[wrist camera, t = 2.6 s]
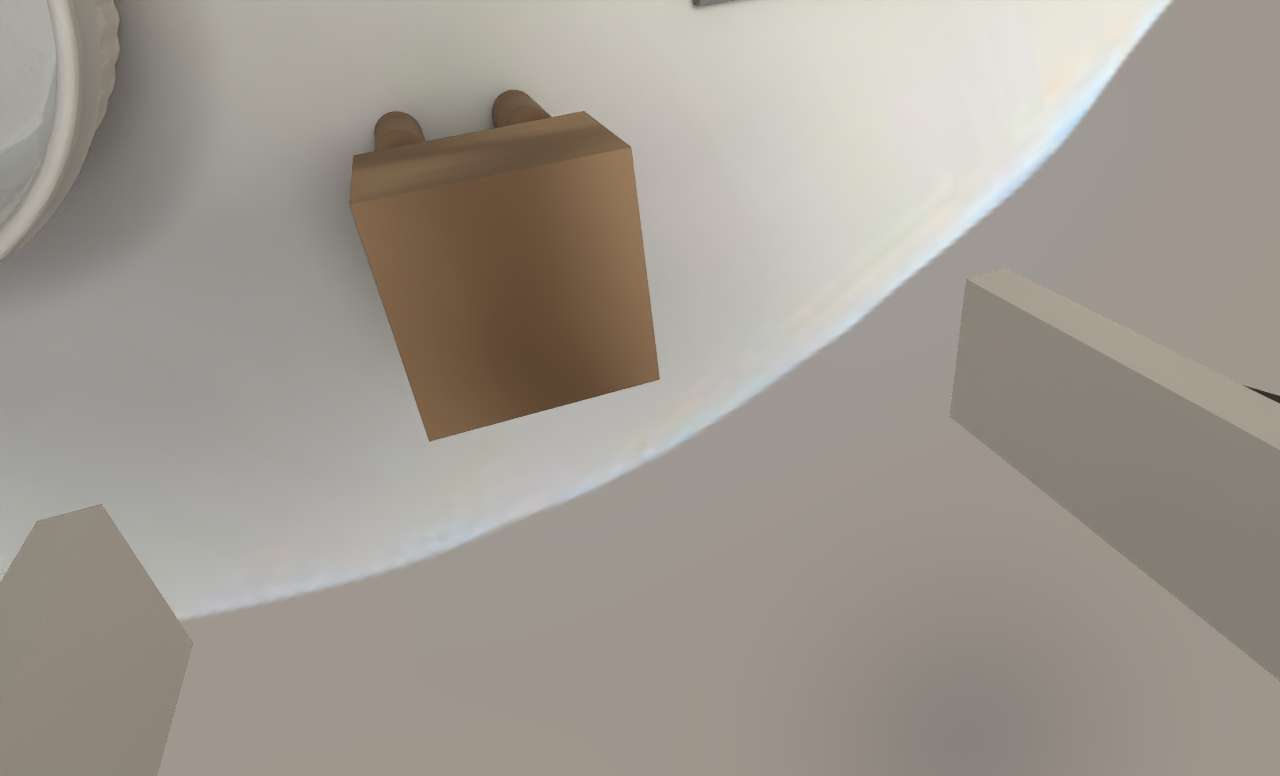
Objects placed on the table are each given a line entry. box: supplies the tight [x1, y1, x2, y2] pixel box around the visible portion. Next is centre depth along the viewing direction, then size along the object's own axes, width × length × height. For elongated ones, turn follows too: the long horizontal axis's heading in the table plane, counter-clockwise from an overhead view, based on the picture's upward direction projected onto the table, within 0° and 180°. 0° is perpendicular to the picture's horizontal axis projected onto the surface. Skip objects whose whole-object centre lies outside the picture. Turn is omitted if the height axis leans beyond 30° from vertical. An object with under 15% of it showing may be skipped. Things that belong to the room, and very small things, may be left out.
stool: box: [350, 90, 660, 441], centre depth 20 cm, size 6×6×10 cm
